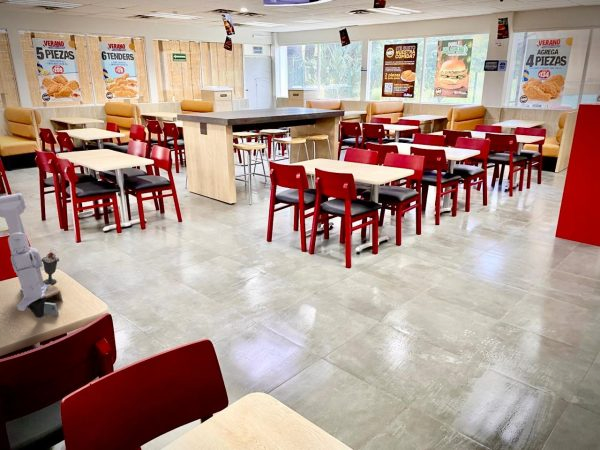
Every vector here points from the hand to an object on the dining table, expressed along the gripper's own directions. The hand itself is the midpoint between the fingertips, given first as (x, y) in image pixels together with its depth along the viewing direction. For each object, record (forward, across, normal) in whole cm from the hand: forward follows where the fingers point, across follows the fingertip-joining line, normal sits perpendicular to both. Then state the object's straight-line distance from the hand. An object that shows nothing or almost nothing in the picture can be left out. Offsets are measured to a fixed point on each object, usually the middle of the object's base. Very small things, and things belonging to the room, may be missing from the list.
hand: (40, 316), depth 165 cm
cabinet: (+2, +12, +6) cm, 13 cm away
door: (+1, +4, 0) cm, 4 cm away
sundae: (+1, +27, +15) cm, 31 cm away
